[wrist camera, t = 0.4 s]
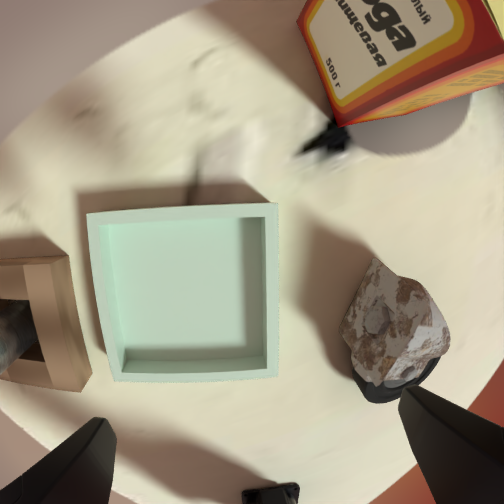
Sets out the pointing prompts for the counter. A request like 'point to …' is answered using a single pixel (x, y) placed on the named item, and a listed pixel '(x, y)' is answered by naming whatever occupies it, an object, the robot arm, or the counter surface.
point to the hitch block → (47, 323)
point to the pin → (15, 332)
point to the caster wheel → (392, 334)
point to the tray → (188, 291)
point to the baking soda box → (402, 53)
